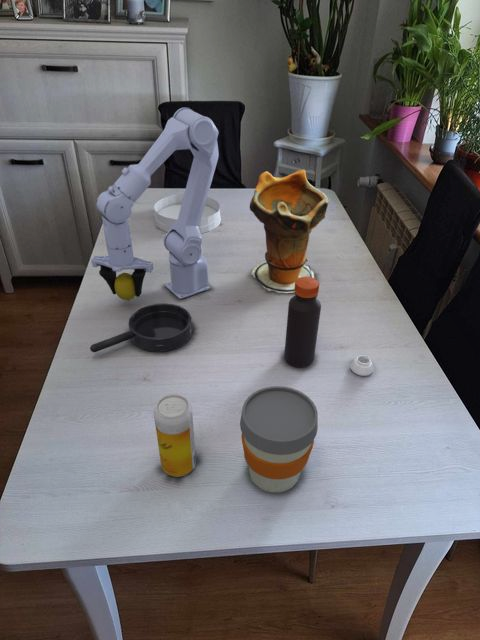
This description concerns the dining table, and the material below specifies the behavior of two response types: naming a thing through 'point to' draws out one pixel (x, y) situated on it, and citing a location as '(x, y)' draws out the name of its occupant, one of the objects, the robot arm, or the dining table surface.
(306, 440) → the reusable coffee cup
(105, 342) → the pan handle
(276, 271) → the decorative vase
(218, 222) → the dish
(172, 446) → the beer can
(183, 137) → the robot arm
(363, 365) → the lidless jar
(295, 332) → the bottle
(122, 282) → the lemon
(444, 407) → the dining table surface
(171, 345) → the pan
